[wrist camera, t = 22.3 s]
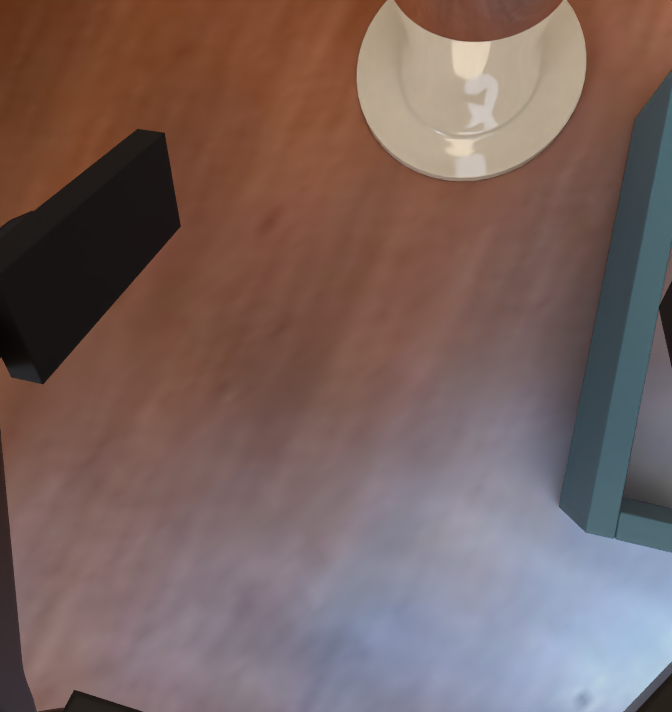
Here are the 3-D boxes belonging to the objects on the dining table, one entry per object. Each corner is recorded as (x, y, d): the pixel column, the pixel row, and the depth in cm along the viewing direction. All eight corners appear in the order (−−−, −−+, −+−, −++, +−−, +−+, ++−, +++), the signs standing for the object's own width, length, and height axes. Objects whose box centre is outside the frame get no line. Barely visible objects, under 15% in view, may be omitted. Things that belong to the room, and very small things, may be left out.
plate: (339, 1, 28) (337, -6, 28) (556, -63, 27) (559, -71, 26) (380, 204, 27) (378, 201, 27) (606, 150, 26) (610, 146, 25)
